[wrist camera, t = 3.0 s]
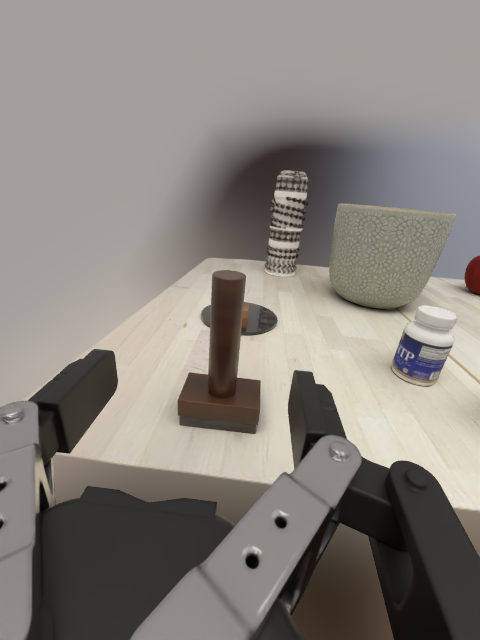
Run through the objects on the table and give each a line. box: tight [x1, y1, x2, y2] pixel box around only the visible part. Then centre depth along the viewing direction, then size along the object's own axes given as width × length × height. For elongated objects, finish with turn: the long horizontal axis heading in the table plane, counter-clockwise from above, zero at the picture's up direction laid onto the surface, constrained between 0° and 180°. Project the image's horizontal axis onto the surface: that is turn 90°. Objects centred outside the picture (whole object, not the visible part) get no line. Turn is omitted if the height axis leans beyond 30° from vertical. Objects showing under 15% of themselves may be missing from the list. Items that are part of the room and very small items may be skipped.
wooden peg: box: [178, 270, 261, 434], centre depth 25 cm, size 4×7×14 cm, turn 85°
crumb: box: [241, 303, 249, 328], centre depth 45 cm, size 3×3×3 cm
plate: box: [201, 302, 277, 335], centre depth 49 cm, size 13×13×1 cm
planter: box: [329, 204, 456, 309], centre depth 60 cm, size 21×21×19 cm
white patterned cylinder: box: [265, 171, 309, 277], centre depth 74 cm, size 9×9×25 cm
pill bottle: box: [391, 306, 457, 386], centre depth 35 cm, size 5×5×9 cm
